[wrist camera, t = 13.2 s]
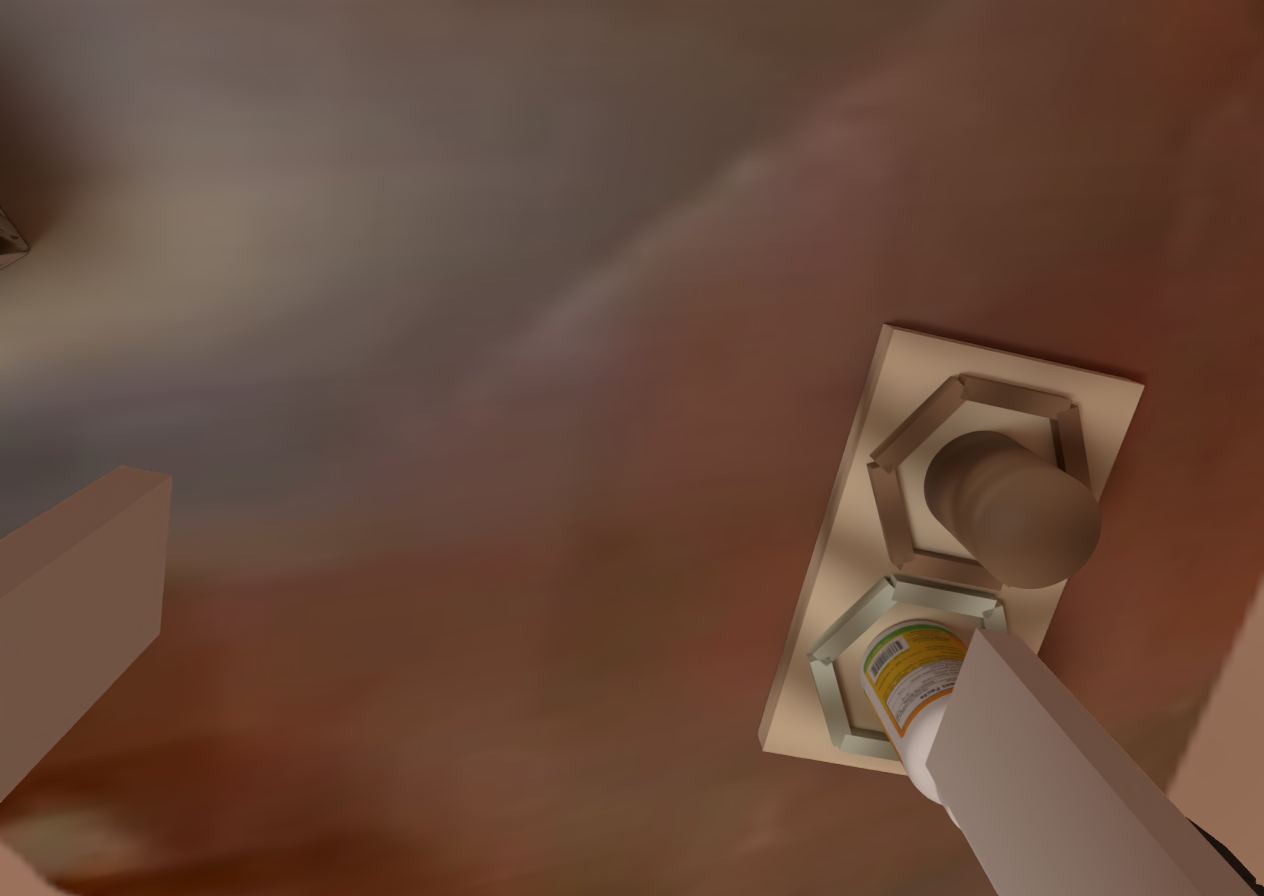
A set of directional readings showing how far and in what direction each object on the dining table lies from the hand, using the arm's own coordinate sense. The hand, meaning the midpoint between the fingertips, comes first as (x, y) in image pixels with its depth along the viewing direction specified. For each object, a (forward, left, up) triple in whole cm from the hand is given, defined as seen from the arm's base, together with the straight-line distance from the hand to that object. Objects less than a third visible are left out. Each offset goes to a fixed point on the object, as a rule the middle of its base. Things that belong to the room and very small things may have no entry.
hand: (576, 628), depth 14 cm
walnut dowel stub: (+3, +19, -25) cm, 32 cm away
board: (+8, +19, -27) cm, 34 cm away
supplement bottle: (+12, +19, -25) cm, 34 cm away
